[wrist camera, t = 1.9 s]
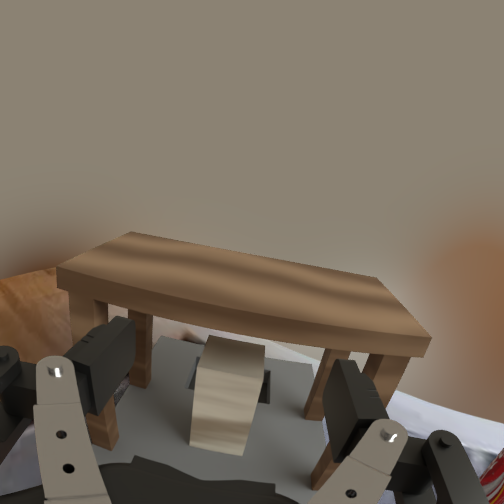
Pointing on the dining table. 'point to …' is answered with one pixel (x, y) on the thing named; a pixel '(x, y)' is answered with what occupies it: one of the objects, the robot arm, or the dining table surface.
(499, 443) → the dining table surface
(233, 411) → the block
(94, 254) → the shelter
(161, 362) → the slotted grey base plate
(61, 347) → the dining table surface
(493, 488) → the soda can
